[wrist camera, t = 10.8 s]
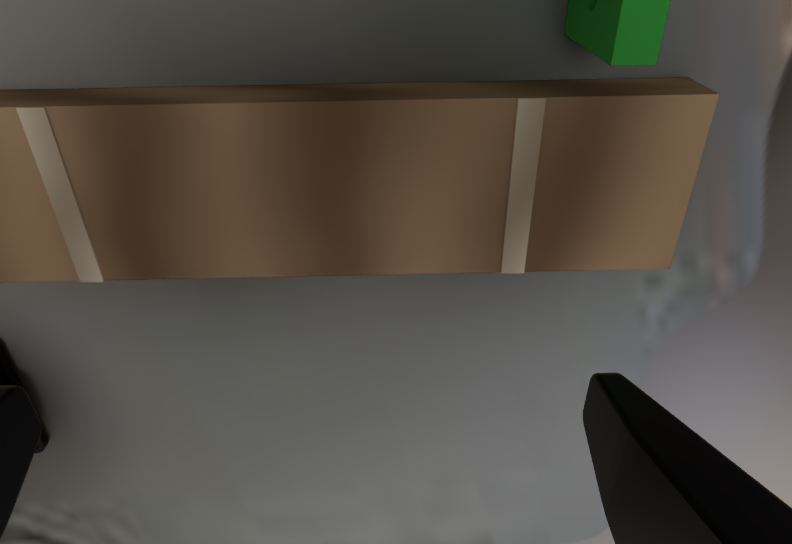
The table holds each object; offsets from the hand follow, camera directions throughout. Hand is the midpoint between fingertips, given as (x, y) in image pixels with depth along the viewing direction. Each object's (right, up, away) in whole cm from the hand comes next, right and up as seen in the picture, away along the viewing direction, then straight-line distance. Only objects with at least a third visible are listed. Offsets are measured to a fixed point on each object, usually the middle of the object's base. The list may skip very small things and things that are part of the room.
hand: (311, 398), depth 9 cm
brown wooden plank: (-1, +6, +11) cm, 12 cm away
